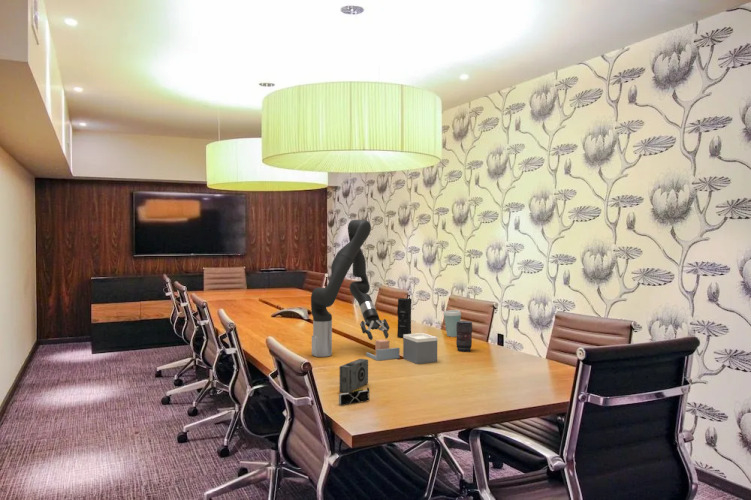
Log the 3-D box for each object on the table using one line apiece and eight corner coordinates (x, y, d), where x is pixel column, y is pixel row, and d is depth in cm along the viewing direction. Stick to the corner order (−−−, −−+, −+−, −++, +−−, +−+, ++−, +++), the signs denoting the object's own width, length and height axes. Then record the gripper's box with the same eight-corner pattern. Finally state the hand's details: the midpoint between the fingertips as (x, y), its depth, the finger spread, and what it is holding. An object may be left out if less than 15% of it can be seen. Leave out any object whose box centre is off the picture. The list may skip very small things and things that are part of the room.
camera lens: (473, 352, 274) (473, 322, 273) (457, 352, 273) (457, 322, 273) (470, 348, 282) (470, 320, 281) (455, 348, 282) (455, 320, 281)
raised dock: (417, 364, 247) (417, 339, 247) (403, 358, 259) (403, 334, 258) (437, 361, 252) (437, 337, 252) (422, 356, 264) (422, 332, 263)
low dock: (377, 360, 254) (377, 350, 253) (366, 355, 265) (366, 345, 264) (399, 358, 259) (399, 347, 259) (387, 353, 270) (387, 343, 270)
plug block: (380, 358, 259) (380, 341, 259) (375, 356, 263) (375, 340, 263) (389, 357, 261) (389, 341, 261) (384, 355, 265) (384, 339, 265)
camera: (346, 394, 199) (346, 367, 199) (337, 392, 201) (337, 366, 201) (368, 384, 213) (368, 358, 213) (359, 382, 215) (360, 357, 215)
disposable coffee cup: (457, 338, 311) (457, 312, 311) (440, 336, 317) (440, 311, 317) (464, 335, 320) (464, 310, 320) (447, 333, 326) (447, 309, 326)
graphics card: (368, 401, 193) (366, 386, 194) (371, 401, 190) (370, 386, 192) (338, 405, 187) (337, 391, 188) (342, 405, 185) (340, 391, 186)
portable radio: (395, 337, 313) (395, 294, 313) (399, 335, 319) (399, 293, 318) (407, 338, 310) (407, 295, 309) (411, 337, 315) (412, 294, 315)
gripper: (358, 308, 269) (368, 335, 259) (383, 306, 276) (394, 332, 266) (354, 317, 274) (364, 344, 264) (379, 315, 281) (389, 341, 271)
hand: (379, 338), depth 265 cm, fingers open, 8 cm apart
